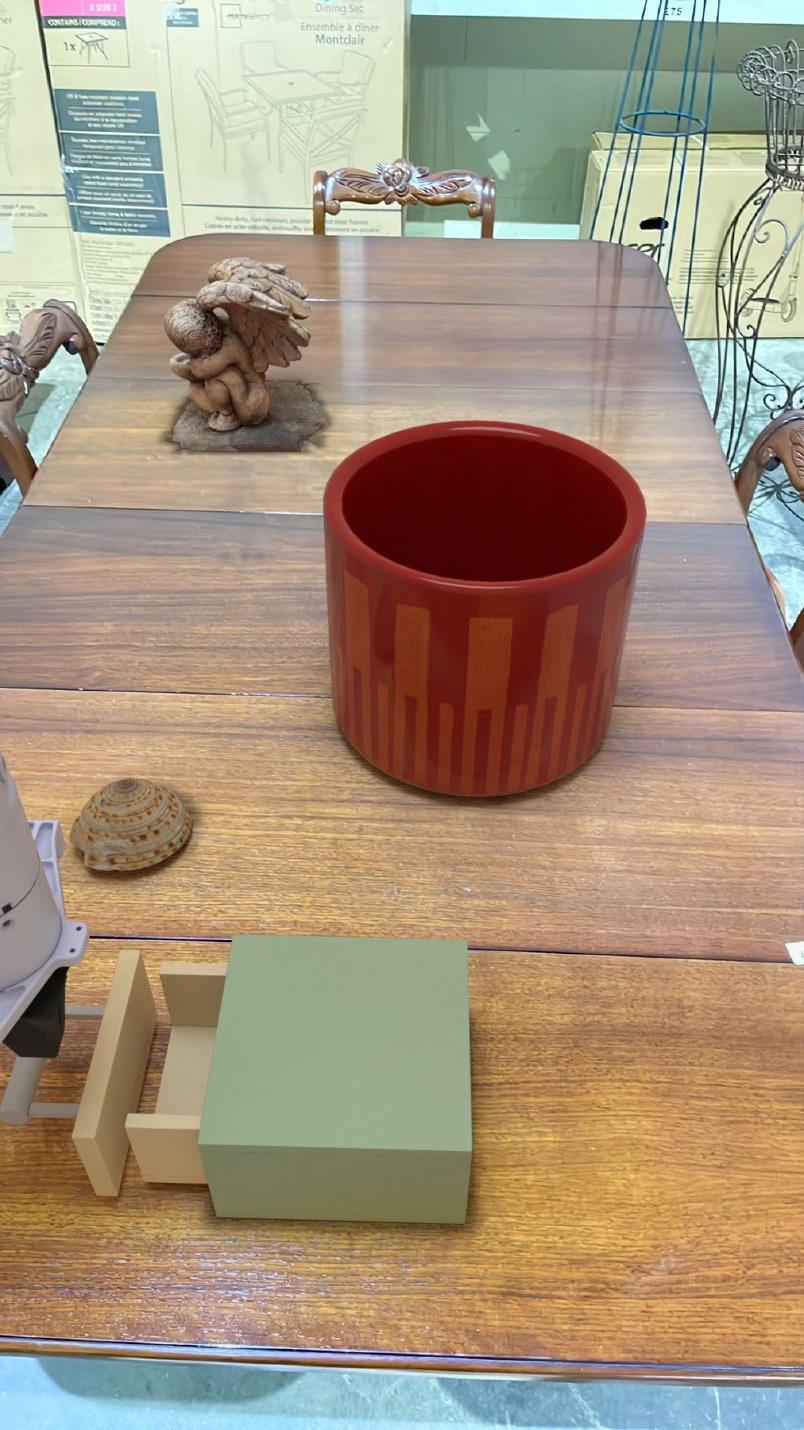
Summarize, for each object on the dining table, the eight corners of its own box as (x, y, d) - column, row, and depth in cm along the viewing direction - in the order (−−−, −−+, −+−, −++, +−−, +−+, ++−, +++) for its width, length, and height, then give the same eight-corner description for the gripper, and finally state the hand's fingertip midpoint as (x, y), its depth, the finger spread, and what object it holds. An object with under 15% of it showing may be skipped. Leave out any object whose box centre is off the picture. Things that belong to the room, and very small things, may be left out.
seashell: (41, 848, 76) (91, 748, 79) (74, 873, 81) (121, 777, 84) (142, 881, 73) (190, 777, 76) (170, 905, 78) (214, 806, 81)
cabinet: (216, 1217, 59) (196, 1143, 53) (246, 1015, 68) (232, 933, 63) (464, 1224, 59) (472, 1151, 53) (461, 1020, 68) (467, 939, 62)
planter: (647, 790, 83) (696, 573, 69) (349, 824, 80) (340, 604, 67) (567, 611, 100) (595, 408, 86) (319, 634, 97) (307, 428, 83)
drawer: (5, 1193, 59) (-28, 1134, 55) (59, 1011, 68) (34, 946, 63) (324, 1202, 59) (318, 1144, 54) (338, 1018, 67) (334, 953, 63)
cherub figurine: (189, 380, 135) (168, 231, 123) (332, 383, 134) (326, 234, 122) (160, 450, 122) (134, 291, 110) (319, 453, 121) (311, 295, 109)
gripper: (16, 1028, 41) (85, 1188, 50) (102, 758, 51) (146, 930, 61) (-170, 1025, 41) (-67, 1184, 50) (-45, 755, 52) (21, 928, 61)
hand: (41, 1045), depth 55 cm, fingers closed
